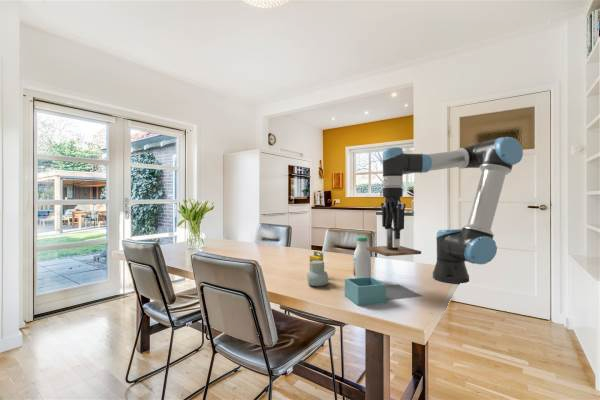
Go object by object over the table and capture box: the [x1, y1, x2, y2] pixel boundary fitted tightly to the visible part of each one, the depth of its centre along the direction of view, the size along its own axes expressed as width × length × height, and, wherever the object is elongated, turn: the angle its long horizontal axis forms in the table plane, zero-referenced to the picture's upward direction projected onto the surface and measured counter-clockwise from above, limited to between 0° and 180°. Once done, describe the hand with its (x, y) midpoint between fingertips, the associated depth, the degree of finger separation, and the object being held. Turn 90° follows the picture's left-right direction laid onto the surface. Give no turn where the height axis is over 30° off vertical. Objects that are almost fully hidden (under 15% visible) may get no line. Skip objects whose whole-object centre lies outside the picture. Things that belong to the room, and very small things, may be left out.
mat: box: [386, 284, 423, 301], centre depth 119 cm, size 16×16×1 cm
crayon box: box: [309, 250, 324, 272], centre depth 144 cm, size 7×3×12 cm, turn 35°
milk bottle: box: [353, 236, 372, 278], centre depth 136 cm, size 8×8×20 cm
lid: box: [366, 227, 422, 257], centre depth 119 cm, size 15×15×9 cm
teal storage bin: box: [344, 276, 387, 307], centre depth 110 cm, size 11×11×7 cm
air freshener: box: [306, 260, 329, 287], centre depth 131 cm, size 11×8×10 cm
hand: (392, 246), depth 119 cm, fingers closed on lid, 4 cm apart
